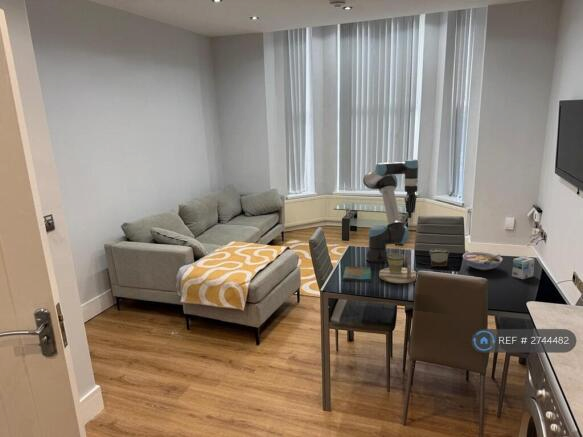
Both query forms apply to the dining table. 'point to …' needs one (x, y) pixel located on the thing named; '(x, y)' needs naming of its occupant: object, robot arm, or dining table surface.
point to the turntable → (403, 276)
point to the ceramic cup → (395, 262)
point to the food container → (439, 257)
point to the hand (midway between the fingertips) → (410, 222)
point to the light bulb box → (523, 267)
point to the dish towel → (357, 274)
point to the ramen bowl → (482, 260)
